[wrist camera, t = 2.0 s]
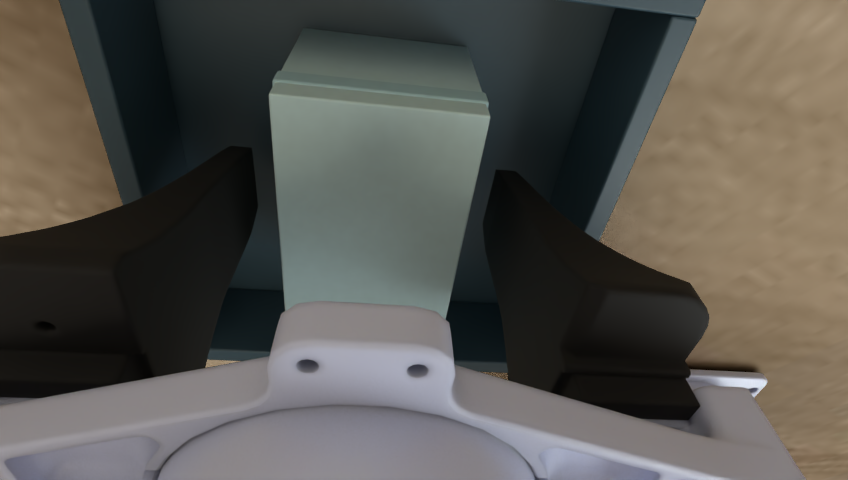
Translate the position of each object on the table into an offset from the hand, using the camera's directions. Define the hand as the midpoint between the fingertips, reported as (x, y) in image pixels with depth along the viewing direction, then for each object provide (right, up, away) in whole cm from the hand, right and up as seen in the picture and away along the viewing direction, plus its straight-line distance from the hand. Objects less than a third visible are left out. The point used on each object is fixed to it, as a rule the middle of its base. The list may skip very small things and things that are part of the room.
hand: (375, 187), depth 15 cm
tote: (0, +1, +1) cm, 2 cm away
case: (0, +1, +1) cm, 1 cm away
